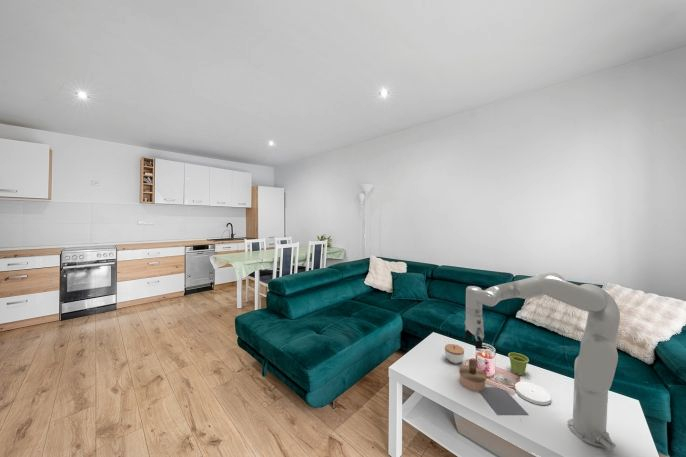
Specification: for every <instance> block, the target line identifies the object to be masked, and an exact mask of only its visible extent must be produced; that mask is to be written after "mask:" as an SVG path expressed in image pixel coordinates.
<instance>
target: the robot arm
mask: <svg viewBox="0 0 686 457" xmlns="http://www.w3.org/2000/svg"><path fill="white" fill-rule="evenodd" d="M543 296H546V297H548V298H551V299H554V300H555V301H559V302H561V303H564V304H566V305H569V306H571V307H573V308H577V309H579V310H581V311H584V312H587V313H588V314H587V318H586V324H585V327H584V332H583V334H582V336H581V339H580V349H579V354H578V356H576V358H575V360H574V365H573V366H574V367H573V368H574V369H573V370H574V373H573V374H574V378H573V379H574V380H573V399H572V400H573V402H572V403H573V404H572V405H573V407H572V418H569V419H568V420H567V424H566V425H567V428H568V429H569V431H570V432H571V433H572V434H573V435H574V436H576V437H577V438H578V439H580V440H581V441H583V442H585V443H587V444H590V445H591V446H594V447H598V448H602V449H607V450H608V451H609V452H612V451H613V450H614V448H616V443H615V442H614V441H612V438H611V437H610V433H609V432H608V431H607V426H608V425H607V423H608V421H607V419H608V402H609V390H610V388H611V387H612V384H613V380H614V377H615V373H616V369H617V365H618V361H619V355H618V350H617V345H616V343H617V342H616V341H617V337H618V333H619V328H620V323H621V312H620V309H619V306H618V304H617V302H616V300H615V299H614V298H613V296H611V294H610V293H608V292H607V291H606V290H605V289H603V288H602V287H600V286H598V285H596V284H592V283H583V284H580V285H578V284H575V283H573V282H569V281H567V280H566V279H565V278H564V277H563V276H562V275H561V274H559V273H557V272H547V273H543V274H539V275H535V276H531V277H527V278H523V279H519V280H518V279H517V280H515V281H511V282H509V281H508V282H506V283H501V284H500V283H499V284H498V285H494V286H490V287H488V288H486V289H484V290H483V289H482V288H481V287H479V286H476V285H468V286H467V287H466V289H465V320H464V330H465V340H472V339H473V336H474V338H475V341H474V342H475V343H474V344H475V345H474V346H475V347H474V348H475V349H477V350H478V349H479V350H481V349H483V341H484V339H485V333H484V332H485V327H484V326H485V325H484V317H483V305H484V306H487V307H494V306H496V305H498V303H499V302H501V301H504V300H508V299H515V298H519V299H524V300H529V299H534V298H538V297H543Z"/></svg>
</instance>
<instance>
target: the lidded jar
mask: <svg viewBox="0 0 686 457" xmlns="http://www.w3.org/2000/svg"><path fill="white" fill-rule="evenodd" d="M444 354H445V357H446V359H447V360H448V361H449V362H450V363H451V364H454V365H457V364H460V363H461V362H462V361H464V360H463V359H464V356H465V348H463V347H462V346H460V345H458V344H454V343H448V344H445V346H444Z"/></svg>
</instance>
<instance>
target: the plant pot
mask: <svg viewBox="0 0 686 457" xmlns="http://www.w3.org/2000/svg"><path fill="white" fill-rule="evenodd" d="M507 356H508V357H509V361H510V368H511V370H510V371H511V372H512V373H514V372H515V373H514V374H516V373H517V374H516V375H518V374H520V375H519V376H524V375H525V374H526V369H527V364H528V363H529V362H530V360H529V357H527V356H526V355H524V354H522V353H517V352H509V353H508V354H507Z"/></svg>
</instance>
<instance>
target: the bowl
mask: <svg viewBox="0 0 686 457" xmlns="http://www.w3.org/2000/svg"><path fill="white" fill-rule="evenodd" d="M459 382H460V384H461V385H462V386H463V387H465V388H466V389H468V390H470V391H474V392H479V391H482V390H483V389H485V387H486V381H484V382H480V383H478V382H472V381H469V380H467V379H465V378H464V377H462V376H461V374H460V373H459Z"/></svg>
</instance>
